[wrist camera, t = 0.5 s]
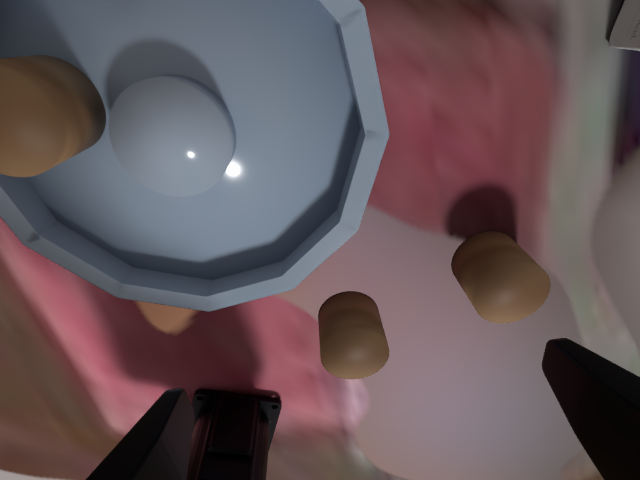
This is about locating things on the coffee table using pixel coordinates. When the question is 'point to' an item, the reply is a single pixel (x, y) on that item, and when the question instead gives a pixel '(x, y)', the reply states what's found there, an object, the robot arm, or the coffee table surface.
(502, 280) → the bead
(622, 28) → the skincare box
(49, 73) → the wooden rounded peg
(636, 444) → the robot arm
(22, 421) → the coffee table surface
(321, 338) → the bead
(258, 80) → the groove tray
